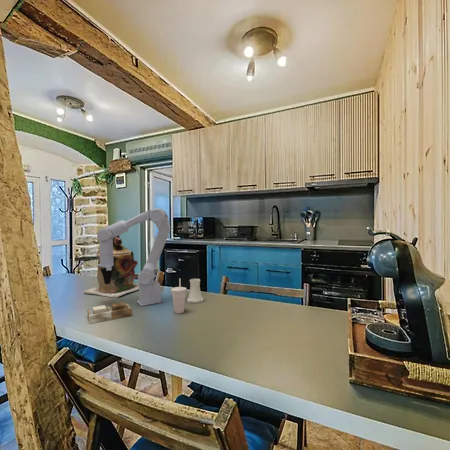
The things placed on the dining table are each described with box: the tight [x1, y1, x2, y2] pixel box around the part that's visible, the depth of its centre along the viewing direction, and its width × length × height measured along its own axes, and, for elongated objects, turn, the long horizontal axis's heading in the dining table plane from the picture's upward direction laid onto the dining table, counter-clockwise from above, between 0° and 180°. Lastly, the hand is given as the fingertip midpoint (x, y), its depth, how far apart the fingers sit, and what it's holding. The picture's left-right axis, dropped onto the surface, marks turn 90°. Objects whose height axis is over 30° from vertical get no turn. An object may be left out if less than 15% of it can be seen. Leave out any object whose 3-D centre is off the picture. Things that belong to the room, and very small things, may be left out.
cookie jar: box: [83, 235, 139, 299], centre depth 150 cm, size 25×25×32 cm
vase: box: [186, 278, 204, 304], centre depth 129 cm, size 8×8×10 cm
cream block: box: [92, 304, 107, 315], centre depth 109 cm, size 4×4×4 cm
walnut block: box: [111, 301, 126, 311], centre depth 113 cm, size 4×4×4 cm
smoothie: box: [170, 278, 188, 314], centre depth 114 cm, size 6×6×14 cm
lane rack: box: [86, 302, 133, 325], centre depth 111 cm, size 15×10×3 cm, turn 120°
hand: (107, 283), depth 126 cm, fingers closed
